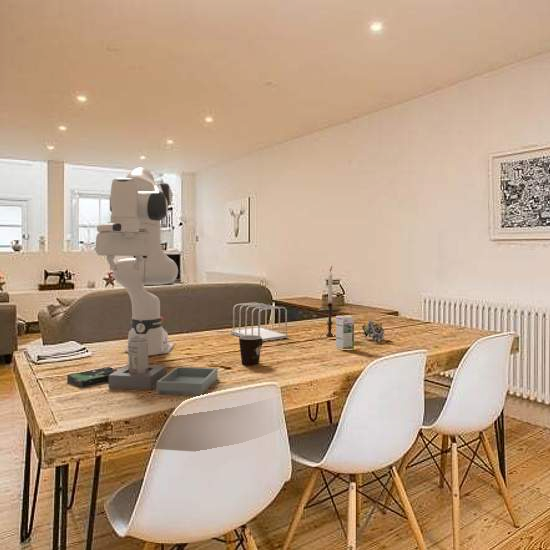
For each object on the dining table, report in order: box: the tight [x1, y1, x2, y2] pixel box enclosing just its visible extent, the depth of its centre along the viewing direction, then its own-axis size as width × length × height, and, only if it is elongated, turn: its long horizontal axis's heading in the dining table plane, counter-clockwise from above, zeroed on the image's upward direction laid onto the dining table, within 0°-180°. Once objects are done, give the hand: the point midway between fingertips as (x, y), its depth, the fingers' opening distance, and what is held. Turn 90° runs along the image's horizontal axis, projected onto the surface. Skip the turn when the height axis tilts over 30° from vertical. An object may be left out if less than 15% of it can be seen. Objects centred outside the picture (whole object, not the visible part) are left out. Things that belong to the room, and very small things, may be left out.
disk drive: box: [66, 366, 118, 388], centre depth 158 cm, size 10×3×15 cm
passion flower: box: [361, 319, 386, 343], centre depth 225 cm, size 11×11×12 cm
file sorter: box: [231, 302, 289, 342], centre depth 234 cm, size 25×17×16 cm
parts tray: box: [155, 366, 219, 396], centre depth 152 cm, size 18×14×4 cm
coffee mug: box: [238, 335, 264, 367], centre depth 181 cm, size 12×9×10 cm
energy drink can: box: [127, 335, 149, 374], centre depth 155 cm, size 6×6×15 cm
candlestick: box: [318, 265, 342, 338], centre depth 230 cm, size 11×11×35 cm
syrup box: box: [335, 314, 355, 349], centre depth 206 cm, size 6×6×14 cm
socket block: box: [108, 363, 168, 390], centre depth 155 cm, size 14×14×4 cm
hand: (125, 269), depth 157 cm, fingers open, 8 cm apart
